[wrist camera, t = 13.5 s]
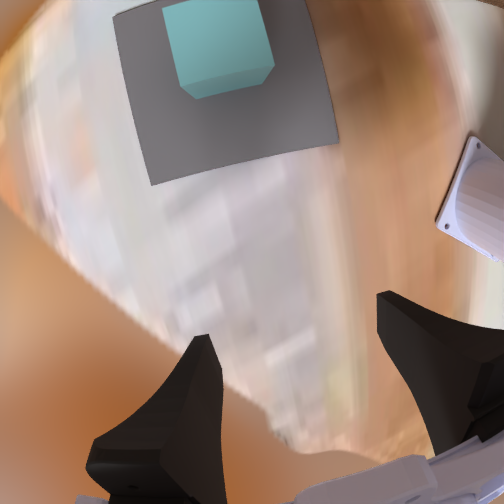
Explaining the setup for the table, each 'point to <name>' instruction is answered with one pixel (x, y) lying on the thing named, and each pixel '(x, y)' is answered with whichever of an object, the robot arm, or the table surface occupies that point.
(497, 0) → the walnut box
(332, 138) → the charcoal mat
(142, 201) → the table surface
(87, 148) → the table surface
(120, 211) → the table surface
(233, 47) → the teal block
